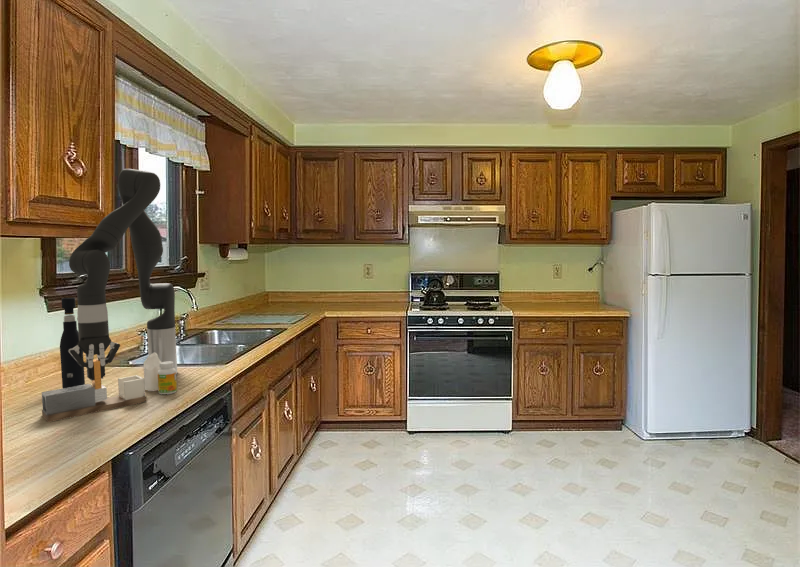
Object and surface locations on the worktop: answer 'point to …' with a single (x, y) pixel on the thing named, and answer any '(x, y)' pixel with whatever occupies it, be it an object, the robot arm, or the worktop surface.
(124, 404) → the board
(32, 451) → the worktop surface
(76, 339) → the black bottle
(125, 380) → the socket
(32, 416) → the worktop surface
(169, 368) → the supplement bottle
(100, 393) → the slide bolt
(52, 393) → the grey rectangular box
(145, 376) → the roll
